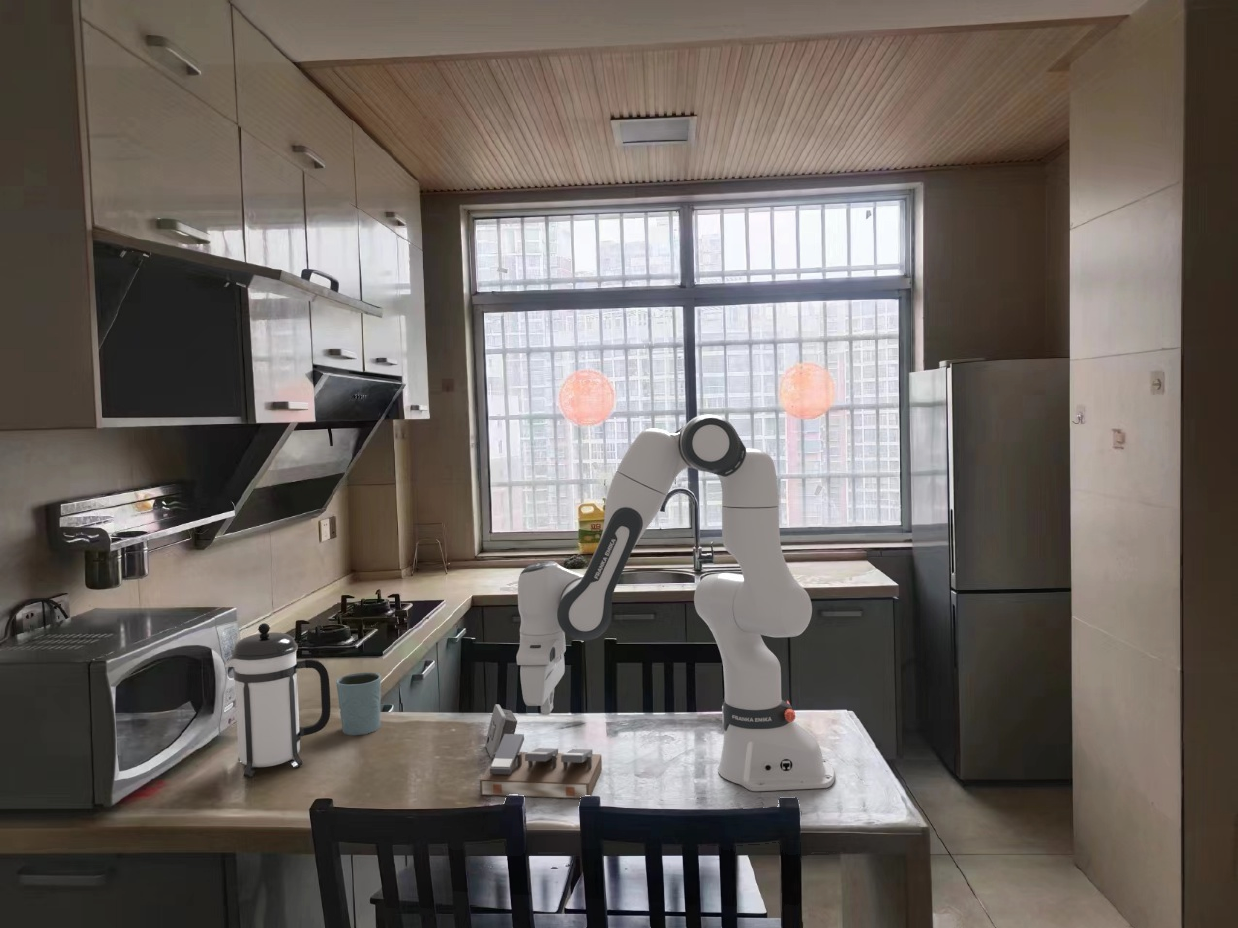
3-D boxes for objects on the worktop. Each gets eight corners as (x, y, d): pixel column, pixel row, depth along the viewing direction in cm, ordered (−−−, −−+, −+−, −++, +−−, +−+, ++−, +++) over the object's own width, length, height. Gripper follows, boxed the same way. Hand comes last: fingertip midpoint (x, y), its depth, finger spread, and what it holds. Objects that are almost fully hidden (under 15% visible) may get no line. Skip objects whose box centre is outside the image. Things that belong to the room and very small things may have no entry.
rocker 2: (592, 755, 172) (592, 748, 172) (581, 762, 161) (582, 755, 162) (572, 755, 173) (572, 748, 173) (561, 761, 162) (561, 754, 162)
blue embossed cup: (366, 738, 195) (363, 686, 195) (328, 734, 198) (326, 682, 198) (391, 723, 205) (389, 673, 204) (355, 719, 208) (353, 670, 207)
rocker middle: (558, 754, 173) (558, 747, 173) (545, 761, 163) (545, 753, 163) (538, 754, 174) (539, 747, 174) (524, 760, 163) (525, 753, 163)
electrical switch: (484, 745, 189) (487, 703, 189) (508, 744, 190) (510, 702, 190) (491, 761, 180) (494, 717, 180) (515, 760, 181) (518, 716, 181)
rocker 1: (524, 739, 174) (523, 733, 174) (510, 774, 164) (509, 768, 164) (505, 738, 175) (504, 733, 175) (490, 773, 165) (489, 767, 164)
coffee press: (277, 783, 171) (270, 634, 170) (215, 774, 177) (208, 629, 175) (334, 751, 187) (328, 615, 186) (275, 743, 193) (269, 611, 192)
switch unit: (601, 768, 174) (601, 742, 174) (588, 800, 160) (588, 771, 159) (501, 765, 177) (500, 739, 177) (479, 796, 163) (478, 767, 162)
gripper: (540, 630, 181) (544, 694, 182) (513, 659, 161) (518, 731, 162) (569, 629, 180) (573, 694, 181) (546, 659, 160) (551, 731, 161)
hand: (547, 712), depth 171 cm, fingers closed
